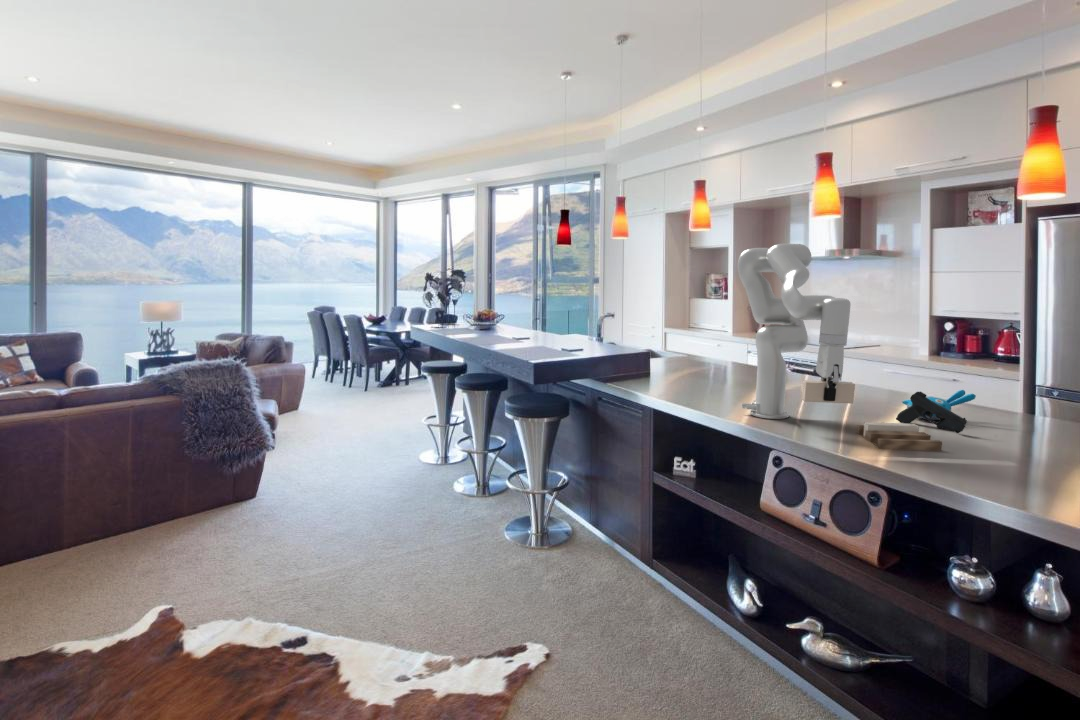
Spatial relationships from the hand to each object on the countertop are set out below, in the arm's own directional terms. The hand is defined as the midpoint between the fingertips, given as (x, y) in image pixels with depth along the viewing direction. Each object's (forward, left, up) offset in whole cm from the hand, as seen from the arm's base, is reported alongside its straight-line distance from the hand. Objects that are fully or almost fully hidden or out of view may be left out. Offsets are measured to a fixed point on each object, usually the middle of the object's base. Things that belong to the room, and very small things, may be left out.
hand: (827, 398), depth 186 cm
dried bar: (+17, -3, -11) cm, 21 cm away
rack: (+17, -8, -12) cm, 22 cm away
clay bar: (0, 0, -1) cm, 1 cm away
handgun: (+35, +12, -12) cm, 39 cm away
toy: (+44, +27, -12) cm, 53 cm away
